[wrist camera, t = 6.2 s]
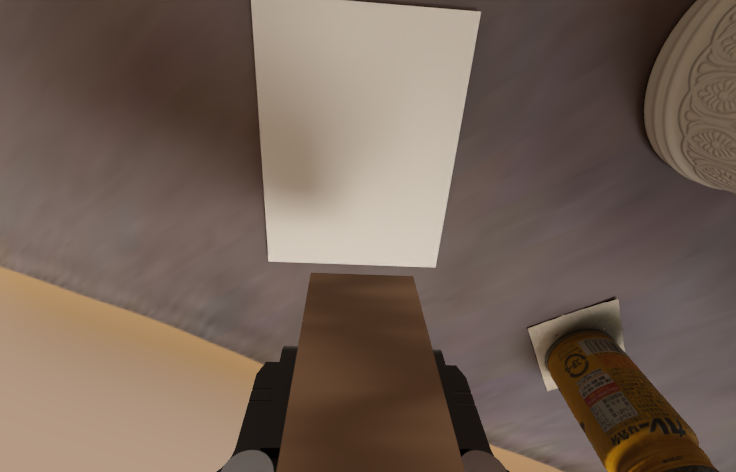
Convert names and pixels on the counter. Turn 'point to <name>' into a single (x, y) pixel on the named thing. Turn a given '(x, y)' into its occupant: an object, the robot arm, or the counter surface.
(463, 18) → the mat
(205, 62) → the counter surface
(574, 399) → the condiment
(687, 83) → the jar
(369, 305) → the block
